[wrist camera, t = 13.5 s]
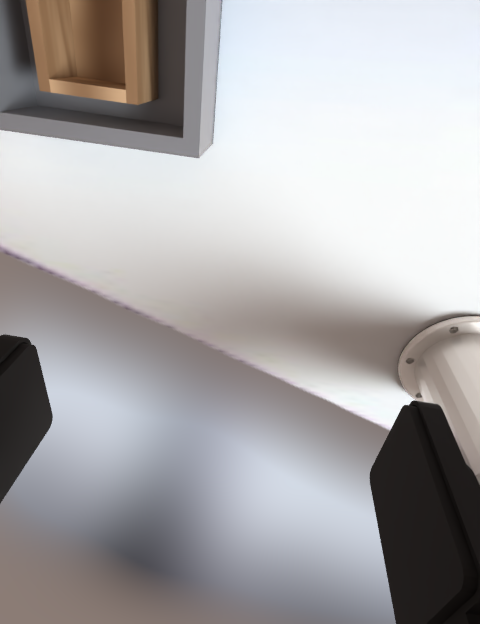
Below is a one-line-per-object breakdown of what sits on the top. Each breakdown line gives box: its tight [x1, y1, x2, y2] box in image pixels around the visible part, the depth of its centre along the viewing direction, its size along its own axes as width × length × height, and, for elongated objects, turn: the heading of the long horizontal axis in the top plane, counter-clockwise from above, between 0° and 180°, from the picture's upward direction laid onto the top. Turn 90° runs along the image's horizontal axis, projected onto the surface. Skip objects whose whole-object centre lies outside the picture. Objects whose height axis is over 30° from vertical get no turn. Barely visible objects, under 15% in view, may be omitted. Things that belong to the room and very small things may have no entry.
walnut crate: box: [26, 0, 158, 105], centre depth 26 cm, size 7×10×5 cm
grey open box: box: [0, 0, 222, 158], centre depth 26 cm, size 16×16×6 cm
